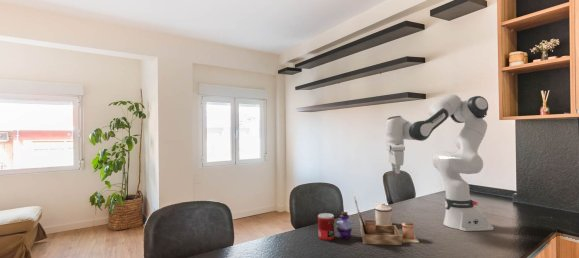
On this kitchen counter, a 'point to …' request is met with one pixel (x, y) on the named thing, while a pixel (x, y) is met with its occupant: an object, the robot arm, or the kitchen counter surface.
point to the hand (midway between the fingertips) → (395, 172)
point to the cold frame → (380, 233)
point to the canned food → (326, 226)
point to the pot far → (370, 226)
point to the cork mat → (410, 240)
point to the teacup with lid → (383, 214)
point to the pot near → (408, 230)
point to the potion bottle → (344, 226)
